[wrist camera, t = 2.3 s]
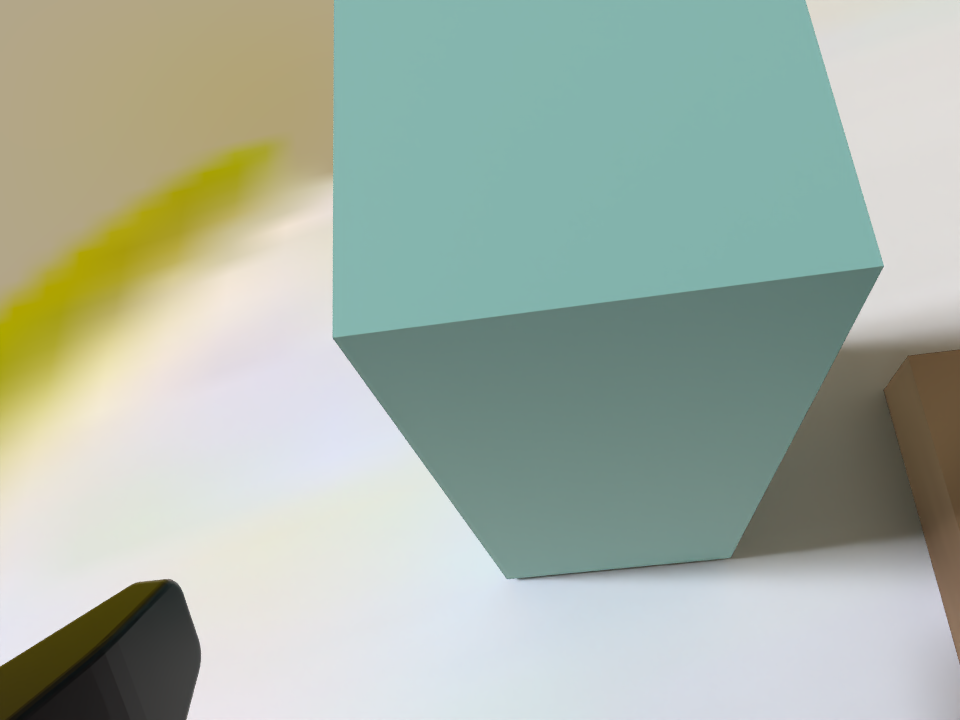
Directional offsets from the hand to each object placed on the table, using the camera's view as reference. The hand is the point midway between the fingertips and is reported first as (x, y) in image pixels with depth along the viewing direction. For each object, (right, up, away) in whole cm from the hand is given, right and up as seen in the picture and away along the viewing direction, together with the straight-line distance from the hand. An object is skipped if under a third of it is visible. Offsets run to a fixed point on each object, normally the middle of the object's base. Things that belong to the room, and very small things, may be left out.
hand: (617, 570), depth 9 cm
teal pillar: (+2, 0, +12) cm, 12 cm away
